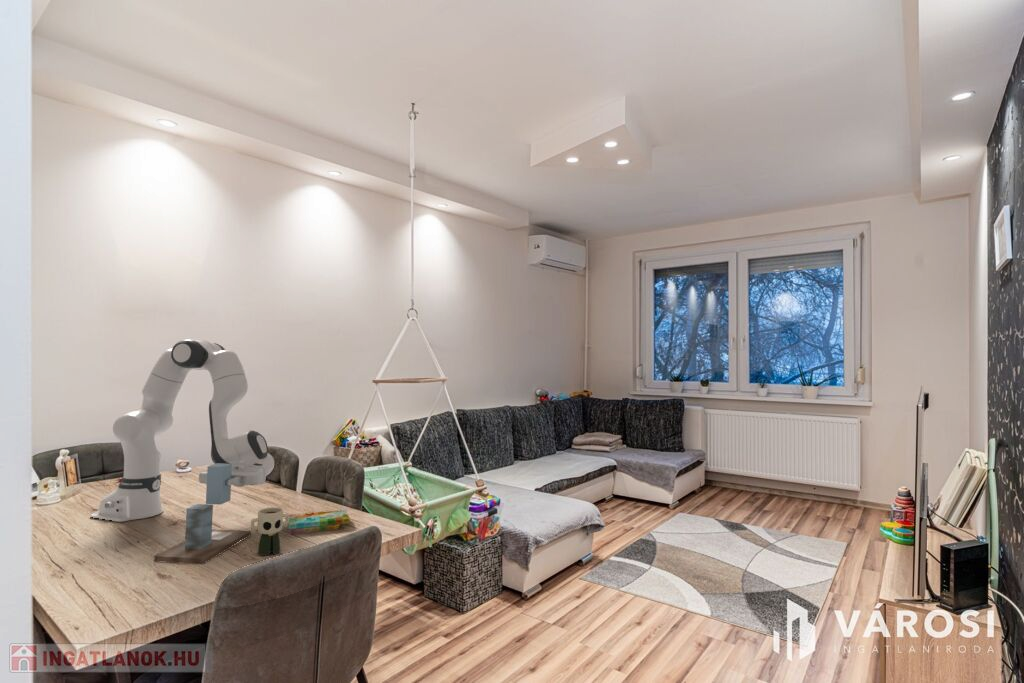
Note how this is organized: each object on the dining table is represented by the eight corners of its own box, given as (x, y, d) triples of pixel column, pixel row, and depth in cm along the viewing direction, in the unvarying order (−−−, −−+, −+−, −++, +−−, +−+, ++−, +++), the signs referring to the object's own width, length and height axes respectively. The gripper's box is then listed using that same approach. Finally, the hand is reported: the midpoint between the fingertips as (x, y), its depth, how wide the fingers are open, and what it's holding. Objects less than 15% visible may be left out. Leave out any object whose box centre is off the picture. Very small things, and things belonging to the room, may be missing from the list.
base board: (154, 561, 149) (156, 514, 149) (207, 533, 173) (209, 493, 173) (203, 563, 148) (205, 516, 149) (250, 535, 172) (252, 494, 173)
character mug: (252, 560, 151) (254, 516, 152) (246, 553, 157) (248, 510, 157) (290, 552, 158) (292, 510, 158) (284, 545, 164) (286, 504, 164)
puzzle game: (287, 512, 183) (345, 507, 192) (287, 526, 183) (345, 520, 192) (288, 522, 173) (350, 516, 181) (287, 536, 173) (349, 529, 181)
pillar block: (205, 503, 165) (207, 466, 165) (215, 499, 170) (217, 463, 170) (220, 504, 164) (222, 467, 165) (230, 500, 169) (231, 463, 170)
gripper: (214, 462, 181) (187, 471, 167) (270, 465, 180) (247, 474, 166) (213, 480, 181) (186, 491, 167) (269, 483, 180) (246, 493, 166)
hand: (217, 482), depth 166 cm, fingers closed on pillar block, 5 cm apart
